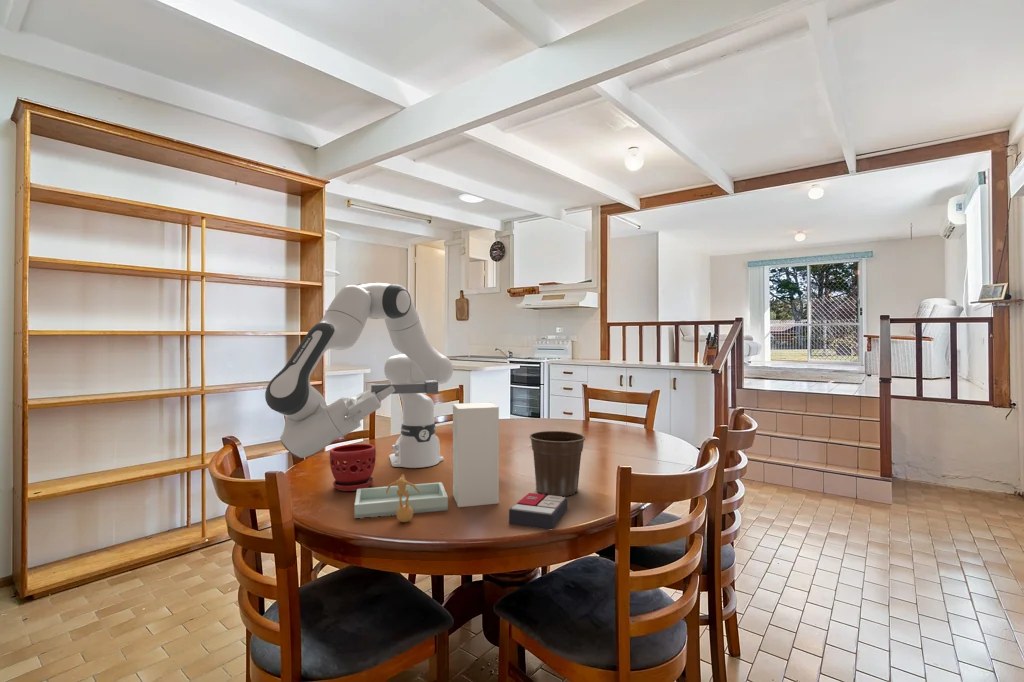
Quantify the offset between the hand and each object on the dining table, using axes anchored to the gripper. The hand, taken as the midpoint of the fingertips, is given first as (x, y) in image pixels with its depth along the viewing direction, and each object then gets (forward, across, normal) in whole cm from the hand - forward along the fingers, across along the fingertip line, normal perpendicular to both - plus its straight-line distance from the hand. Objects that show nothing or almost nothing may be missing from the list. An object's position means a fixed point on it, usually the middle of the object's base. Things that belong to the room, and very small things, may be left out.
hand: (393, 387), depth 127 cm
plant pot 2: (+24, +1, +51) cm, 56 cm away
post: (+3, 0, +38) cm, 39 cm away
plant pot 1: (-26, +21, +22) cm, 40 cm away
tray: (-14, 0, +28) cm, 32 cm away
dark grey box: (+14, -16, +46) cm, 50 cm away
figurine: (-14, -12, +29) cm, 34 cm away
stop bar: (+2, 0, +3) cm, 3 cm away
